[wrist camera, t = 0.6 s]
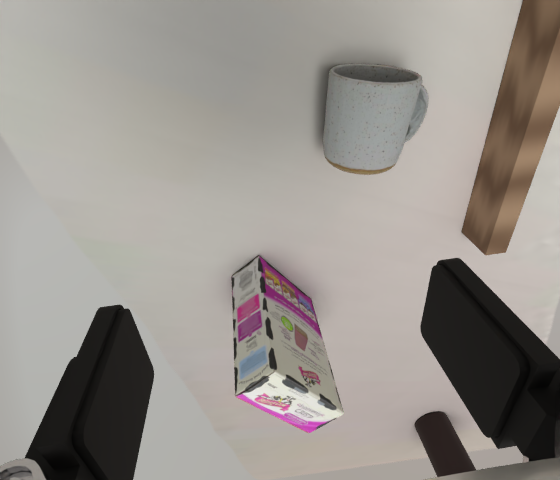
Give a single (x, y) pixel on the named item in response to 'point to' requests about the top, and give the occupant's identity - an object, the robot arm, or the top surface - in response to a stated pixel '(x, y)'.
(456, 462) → the bottle
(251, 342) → the candy bar box
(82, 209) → the top surface
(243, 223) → the top surface
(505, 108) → the walnut board
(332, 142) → the ceramic mug
